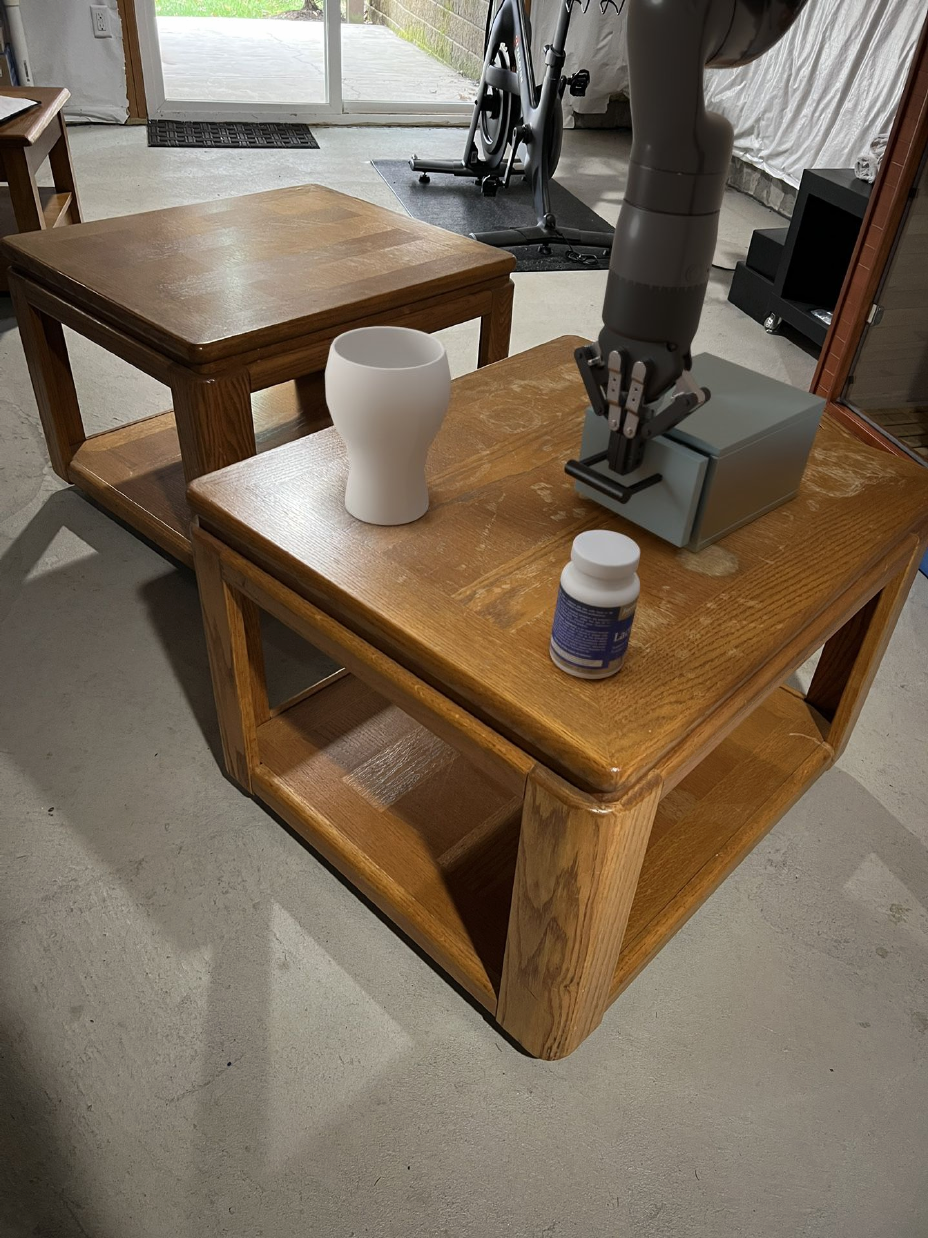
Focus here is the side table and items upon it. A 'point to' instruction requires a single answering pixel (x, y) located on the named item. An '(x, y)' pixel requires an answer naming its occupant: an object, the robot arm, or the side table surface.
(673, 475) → the drawer
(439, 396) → the cup
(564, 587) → the pill bottle
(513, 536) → the side table surface
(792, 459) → the drawer cabinet
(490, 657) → the side table surface
